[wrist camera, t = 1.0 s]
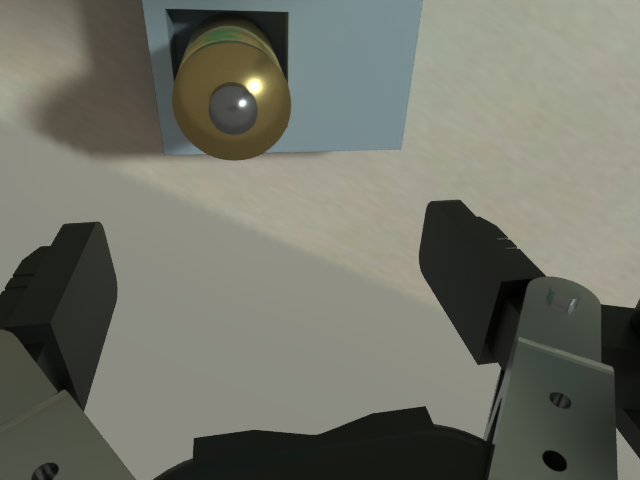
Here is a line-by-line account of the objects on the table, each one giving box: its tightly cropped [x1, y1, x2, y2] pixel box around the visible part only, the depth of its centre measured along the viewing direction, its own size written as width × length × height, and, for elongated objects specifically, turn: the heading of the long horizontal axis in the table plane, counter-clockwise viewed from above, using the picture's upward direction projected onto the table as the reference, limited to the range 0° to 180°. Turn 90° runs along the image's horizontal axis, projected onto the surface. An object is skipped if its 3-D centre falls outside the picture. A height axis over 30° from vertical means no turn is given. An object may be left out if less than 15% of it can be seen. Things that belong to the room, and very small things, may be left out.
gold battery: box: [172, 13, 291, 160], centre depth 23 cm, size 5×5×10 cm
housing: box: [142, 0, 423, 155], centre depth 27 cm, size 10×14×4 cm
